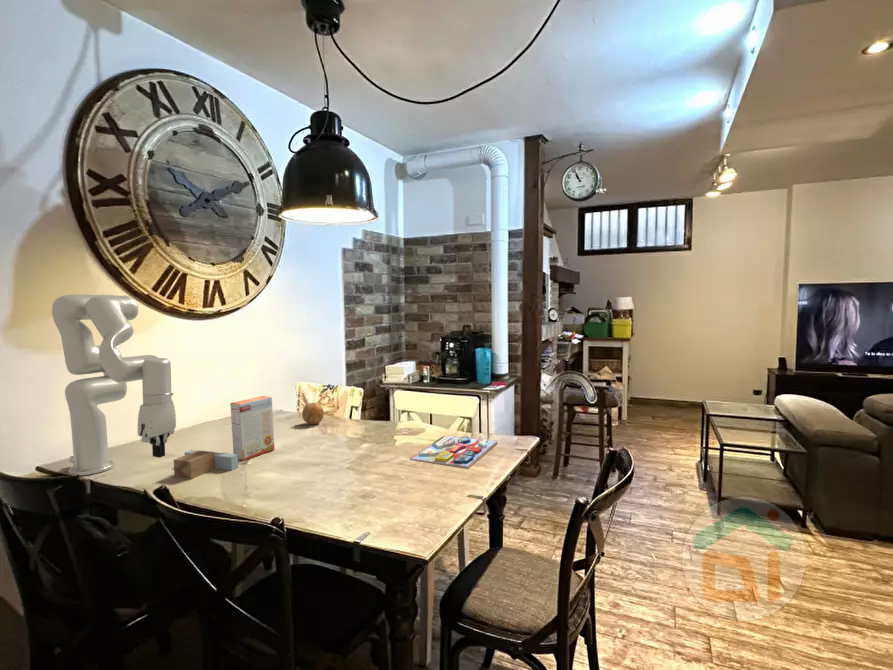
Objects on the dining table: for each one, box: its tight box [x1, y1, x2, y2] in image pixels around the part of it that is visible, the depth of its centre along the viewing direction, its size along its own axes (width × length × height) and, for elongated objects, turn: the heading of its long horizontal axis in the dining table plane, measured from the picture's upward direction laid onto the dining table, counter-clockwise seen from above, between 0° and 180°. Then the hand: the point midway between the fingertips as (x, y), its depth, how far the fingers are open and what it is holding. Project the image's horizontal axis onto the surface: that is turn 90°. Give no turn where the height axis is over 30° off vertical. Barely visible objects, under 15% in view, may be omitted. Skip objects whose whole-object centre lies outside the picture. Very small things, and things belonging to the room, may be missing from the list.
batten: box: [184, 449, 239, 471], centre depth 163 cm, size 20×3×4 cm, turn 73°
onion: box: [301, 402, 325, 425], centre depth 218 cm, size 10×10×10 cm
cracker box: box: [230, 395, 275, 461], centre depth 174 cm, size 14×6×21 cm, turn 148°
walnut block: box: [173, 449, 216, 480], centre depth 157 cm, size 7×10×6 cm
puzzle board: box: [409, 435, 498, 469], centre depth 176 cm, size 30×23×3 cm
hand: (158, 456), depth 146 cm, fingers closed
